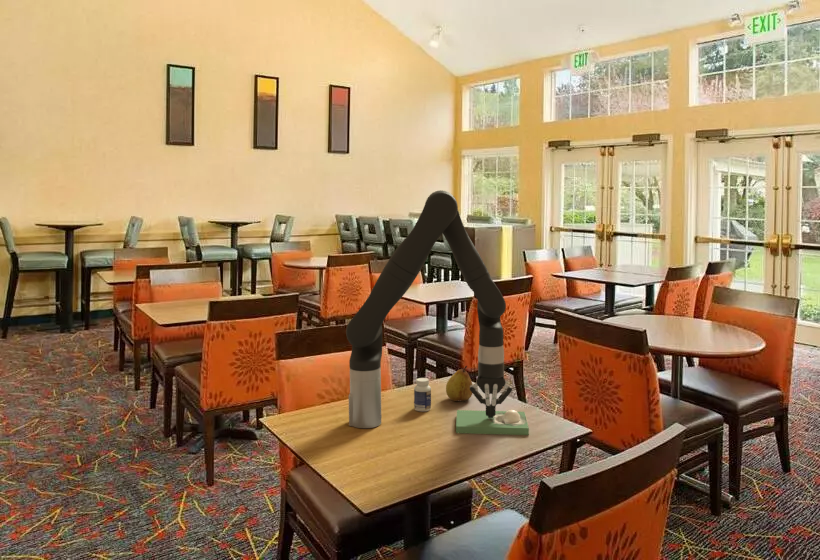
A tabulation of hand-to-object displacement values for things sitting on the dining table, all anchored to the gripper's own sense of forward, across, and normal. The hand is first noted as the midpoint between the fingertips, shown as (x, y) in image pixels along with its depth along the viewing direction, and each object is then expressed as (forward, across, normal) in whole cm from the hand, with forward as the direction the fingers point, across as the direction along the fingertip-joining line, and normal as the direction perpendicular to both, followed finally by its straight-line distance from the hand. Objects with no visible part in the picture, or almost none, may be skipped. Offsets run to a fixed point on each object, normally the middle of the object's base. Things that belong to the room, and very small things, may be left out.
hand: (490, 417), depth 186 cm
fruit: (+3, -10, +24) cm, 26 cm away
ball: (0, +6, 0) cm, 6 cm away
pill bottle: (+3, -21, +13) cm, 25 cm away
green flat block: (+2, 0, 0) cm, 2 cm away
